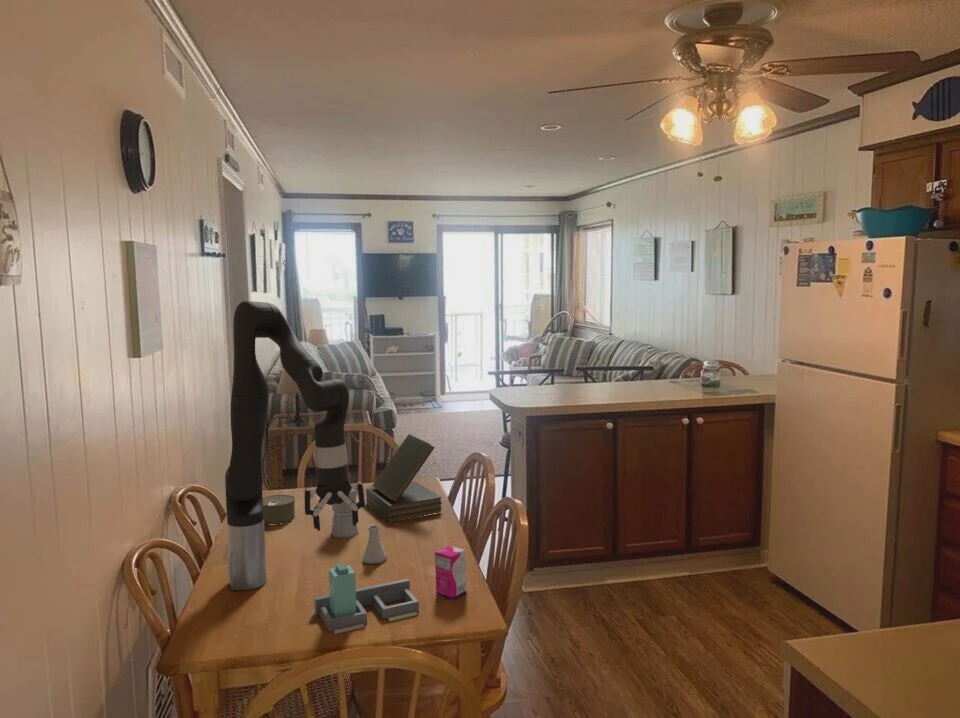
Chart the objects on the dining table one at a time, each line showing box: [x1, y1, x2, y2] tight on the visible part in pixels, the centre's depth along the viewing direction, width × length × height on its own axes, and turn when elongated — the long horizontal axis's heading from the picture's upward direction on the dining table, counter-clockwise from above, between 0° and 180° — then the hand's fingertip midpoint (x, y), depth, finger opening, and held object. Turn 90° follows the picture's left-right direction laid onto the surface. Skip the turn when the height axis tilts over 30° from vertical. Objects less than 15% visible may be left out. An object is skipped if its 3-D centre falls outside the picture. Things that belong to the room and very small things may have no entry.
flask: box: [361, 524, 387, 565], centre depth 197 cm, size 7×7×10 cm
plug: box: [328, 562, 357, 618], centre depth 162 cm, size 5×5×13 cm
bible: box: [365, 433, 443, 523], centre depth 242 cm, size 23×20×25 cm
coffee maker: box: [330, 489, 359, 539], centre depth 219 cm, size 15×9×18 cm, turn 22°
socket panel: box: [313, 578, 420, 635], centre depth 165 cm, size 24×12×4 cm, turn 116°
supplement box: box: [434, 545, 467, 601], centre depth 175 cm, size 6×6×12 cm
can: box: [262, 494, 296, 525], centre depth 233 cm, size 12×12×7 cm
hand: (336, 527), depth 166 cm, fingers open, 8 cm apart
